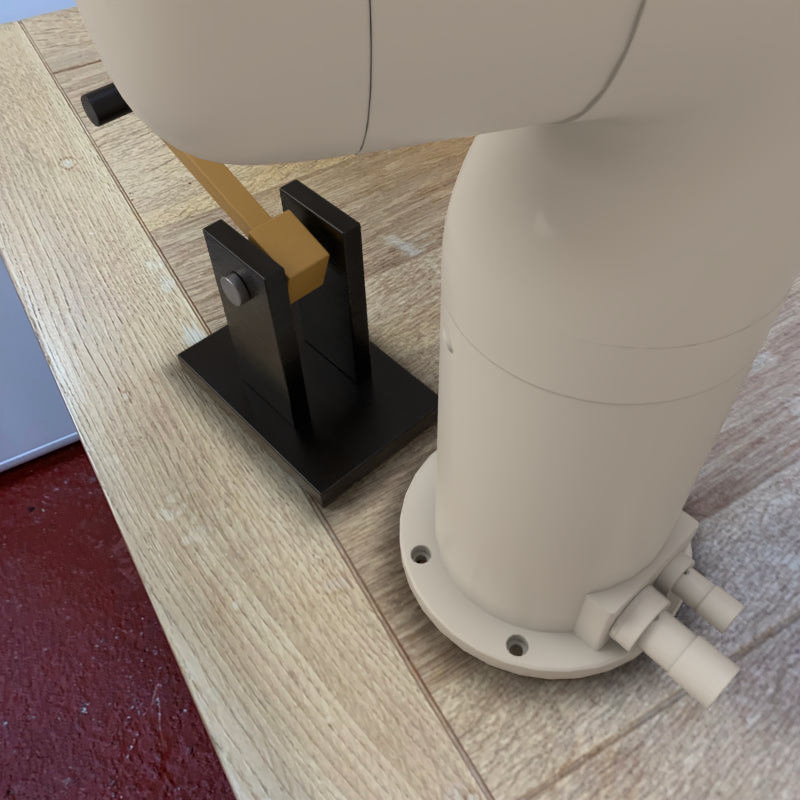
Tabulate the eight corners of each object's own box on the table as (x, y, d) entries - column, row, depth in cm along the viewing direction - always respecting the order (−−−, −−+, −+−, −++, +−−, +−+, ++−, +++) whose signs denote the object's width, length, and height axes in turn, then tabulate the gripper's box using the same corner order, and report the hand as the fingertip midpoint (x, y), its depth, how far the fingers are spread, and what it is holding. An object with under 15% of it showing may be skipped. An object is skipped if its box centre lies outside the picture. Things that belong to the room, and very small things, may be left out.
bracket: (181, 369, 42) (122, 203, 34) (298, 297, 46) (271, 130, 37) (323, 509, 37) (294, 351, 28) (445, 415, 40) (451, 249, 32)
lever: (84, 120, 37) (75, 80, 34) (176, 80, 39) (174, 40, 37) (258, 324, 34) (261, 295, 32) (347, 270, 36) (355, 238, 34)
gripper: (183, -319, 46) (239, 3, 60) (351, -277, 39) (370, 76, 53) (286, -339, 49) (316, -28, 63) (459, -303, 42) (449, 37, 56)
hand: (340, 19), depth 58 cm, fingers closed
